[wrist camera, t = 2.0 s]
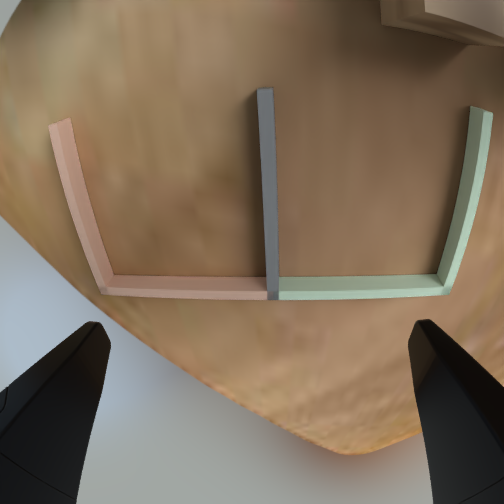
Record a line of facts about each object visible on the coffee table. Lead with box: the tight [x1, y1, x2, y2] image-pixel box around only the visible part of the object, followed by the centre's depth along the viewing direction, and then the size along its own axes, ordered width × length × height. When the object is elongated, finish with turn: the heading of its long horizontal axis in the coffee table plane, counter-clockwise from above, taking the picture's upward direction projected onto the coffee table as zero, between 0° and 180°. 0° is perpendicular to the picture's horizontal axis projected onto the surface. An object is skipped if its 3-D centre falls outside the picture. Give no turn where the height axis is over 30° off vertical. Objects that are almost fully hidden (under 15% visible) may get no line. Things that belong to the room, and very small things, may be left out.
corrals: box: [48, 87, 493, 300], centre depth 19 cm, size 27×14×2 cm, turn 93°
